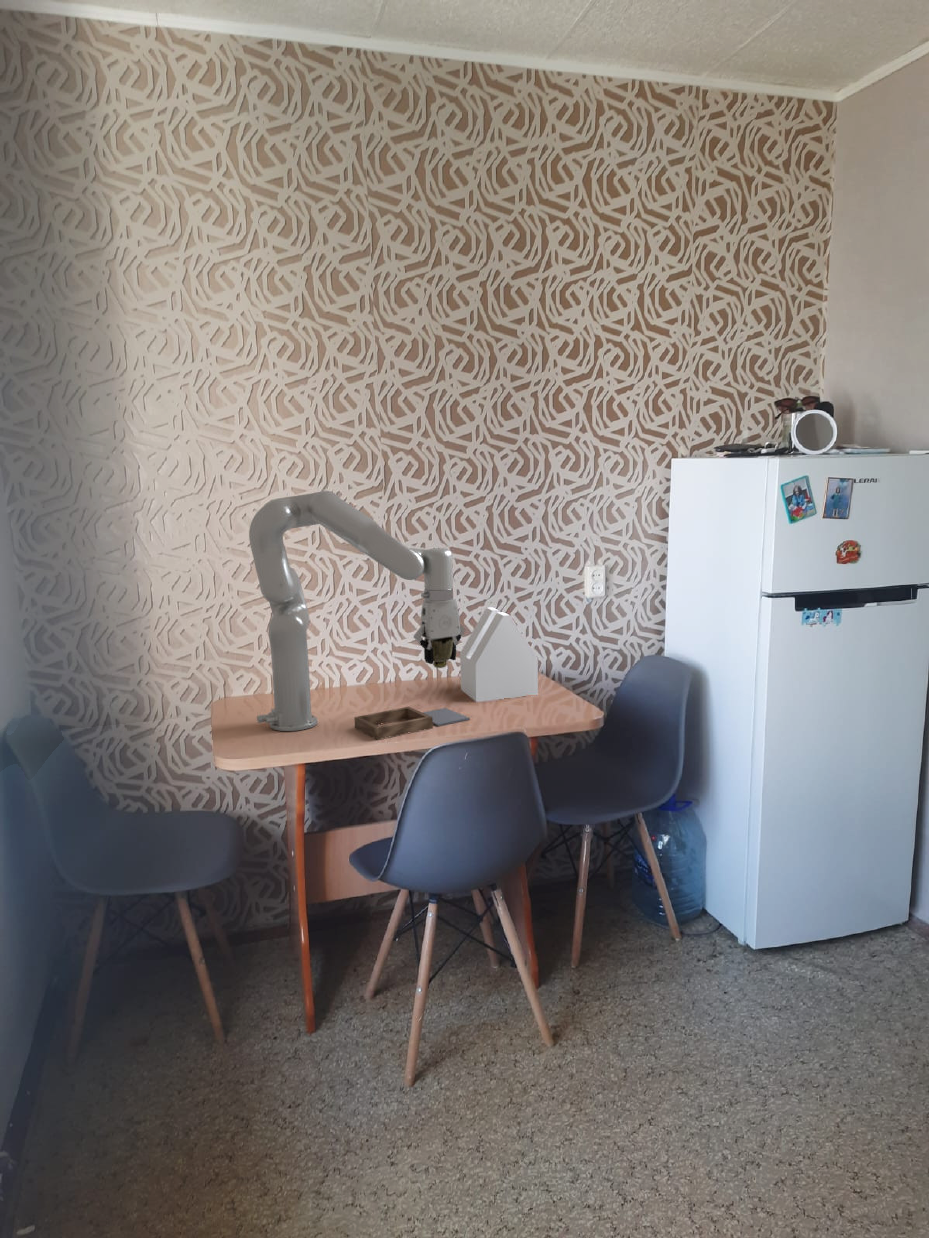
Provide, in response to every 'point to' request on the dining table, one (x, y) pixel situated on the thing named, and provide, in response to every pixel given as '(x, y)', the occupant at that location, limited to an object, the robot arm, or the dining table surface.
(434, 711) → the mat
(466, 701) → the dining table surface
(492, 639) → the grey slotted house block
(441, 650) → the cup
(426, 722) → the frame
